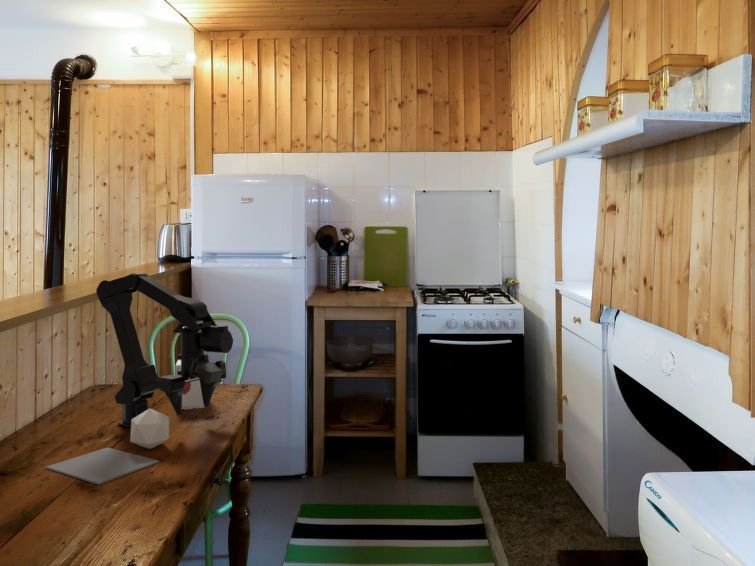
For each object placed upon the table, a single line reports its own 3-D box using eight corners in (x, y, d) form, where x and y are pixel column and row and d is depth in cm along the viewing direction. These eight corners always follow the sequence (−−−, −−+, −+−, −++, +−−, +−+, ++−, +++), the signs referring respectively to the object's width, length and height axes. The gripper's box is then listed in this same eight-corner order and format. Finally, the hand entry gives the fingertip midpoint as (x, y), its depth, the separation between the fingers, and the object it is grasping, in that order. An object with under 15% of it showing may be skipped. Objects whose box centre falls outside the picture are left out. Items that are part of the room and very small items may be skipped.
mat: (46, 468, 129) (45, 466, 129) (107, 448, 142) (107, 447, 142) (99, 484, 121) (98, 483, 120) (159, 462, 134) (159, 460, 134)
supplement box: (174, 417, 170) (174, 365, 170) (177, 409, 179) (176, 359, 178) (207, 415, 173) (207, 363, 172) (208, 407, 181) (208, 358, 181)
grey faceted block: (177, 446, 145) (176, 405, 145) (152, 457, 137) (151, 414, 136) (148, 442, 148) (148, 402, 147) (122, 453, 139) (121, 411, 139)
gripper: (186, 359, 141) (187, 424, 142) (241, 348, 157) (241, 407, 158) (154, 354, 146) (155, 417, 147) (210, 344, 163) (210, 401, 163)
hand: (193, 410), depth 154 cm, fingers open, 9 cm apart
